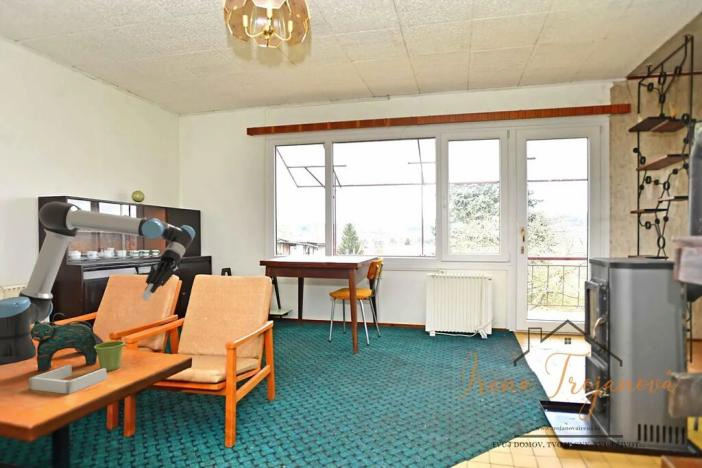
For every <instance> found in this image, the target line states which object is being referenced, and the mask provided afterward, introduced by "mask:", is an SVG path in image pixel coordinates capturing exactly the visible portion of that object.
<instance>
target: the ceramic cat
mask: <svg viewBox="0 0 702 468" xmlns="http://www.w3.org/2000/svg"><path fill="white" fill-rule="evenodd" d="M56 315H62V316H63V317H65V316H66V315H65V314H64V313H61V312H57V313H55V314H54V315H52V321H51V322H50V321H41V322H38V321H36V322H35V324H33V326H32V328H30V335H31V338H32V341H37V342H38V345H37V348H36V363H37V373H38V372H48V371H49V370H51V368H52V360H53V357H54V355H55V354H56V353H58V351H62V350H67V349H74V350H75V349H79V350H81V351H82V352H81V353H82V354H83V356H84V359H85V365H86V366H93V365H96V363H97V360H98V355H97V352H96V349H95V348H94V346H96V345H98V344H97V339H96V336H95V334H96V333H95V332H94V328H93V326H92V324H91V323H90V322H88V321H84V320H74V321H73V320H72V321H70V322H67V323H63V324H57V323H56V322H55V320H54V318H55V316H56ZM82 323H83V324H82ZM86 324H87V325H88V326H87V325H86ZM94 333H95V334H94Z"/></svg>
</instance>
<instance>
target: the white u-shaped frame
mask: <svg viewBox="0 0 702 468" xmlns="http://www.w3.org/2000/svg"><path fill="white" fill-rule="evenodd" d="M72 367H73V366H72V365H71V364H68V365H65V366H62V367H58V368H55V369H52V370H50V371H49V370H48V371H45V372H44V373H41V374H40V373H39V374H37V375H33V376H31V377H29V378H28V382H29V385H28V388H29V390H32V391H42V392H49V393H58V394H67V395H70V394H72V393H75V392H79V391H81V390H82V389H86V388H89V387H90V386H93V385H95V384H98V383H101V382H104V381H105V380H107V379H108V378H107V374H108V373H107V370H106V368H103V369H100V368H99V369H98V370H96V371H91V372H90V373H87V374H84V375H82V376H79V377H76V378H73V379H70V380H67V379H66V378H68V377H71V376H73V375H72V374H73V373H72V372H73V371H72V370H73V369H72ZM65 379H66V380H65Z"/></svg>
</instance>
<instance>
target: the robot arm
mask: <svg viewBox="0 0 702 468" xmlns="http://www.w3.org/2000/svg"><path fill="white" fill-rule="evenodd" d="M38 218H39V220H40V221H39V222H41V224H42V225H43V226H44V228H43V230H44V232H45V238H44V240H43V243H42V245H41V249H40V251H39V253H38V257H37V259H36V262H35V264H34V266H33V269H32V272H31V274H30V276H29V280H28V282H27V285H26V287H24V288H23V289H21V290H20V291H19V294H18V296H13V297H7V298H2V299H0V364H10V363H17V362H20V361H25V360H28V359H31V358H34V357H37V348H36V345H35V343H34V340H33V339H32V337H31V326H32V325H33V326H34V324H35V322H36V321H38V322H40V323H42V322H44V321H45V320H46V319H47V318H49V316H50V315H51V314H52V312H53V308H54V307H53V303H52V300H53V298H54V295H53V293H51V292H52V289H53V285H54V283H55V280H56V278H57V275H58V272H59V271H60V267H61V265H62V262H63V259H64V257H65V254H66V251H67V248H68V246H69V243H70V241H71V240H72V239H74V238H76V236H77V234H78V231H79V230H80V229H82V230H89V231H90V230H91V231H96V232H103V233H113V234H120V235H125V236H126V235H128V236H134V237H142V238H148V239H151V240H153V239H154V240H155V239H161V240H163V241H166V242H168V243H169V244H168V245H167V246H166V248H165V250H164V251H163V253H162V255H161V256H160V261H159V262H158V263H157V264H156V265H154V264H152V265H150V270H149V272H148V275H147V277H146V280H145V284H146V288H145V289H144V292H143V294H142V295H141V298H142V299H143V300H144V301H150V299H151V297H152V296H153V294H154V293H155V292H156V291H157V290H158V288H159V287H164V286H165V285H166V283H167V282H168V281H169V280H170V279H171V278H172V277H173V275H174V274H175V273H176V272H178V271H179V268H178V264H179V263H180V261H181V259H182V258H183V256H184V255H185V253H186V251H187V250H188V249H189V247H190V245H191V244H192V243H193V239H194V238H195V236H196V232H195V229H194V228H193V227H191V226H189V225H185V224H183V225H181V226H180V227H178V226H174V225H173V224H170V223H169V222H166V221H163V220H162V219H159V218H155V217H152V218H151V219H146V218H141V217H132V216H126V215H119V214H118V215H117V214H112V213H106V212H105V213H104V212H99V211H98V212H97V211H91V210H85V209H82V207H80V206H79V205H77V204H73V203H70V202H63V201H50V202H47V203H45V204H43V206H42V207H41V208H40V210H39V213H38Z"/></svg>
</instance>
